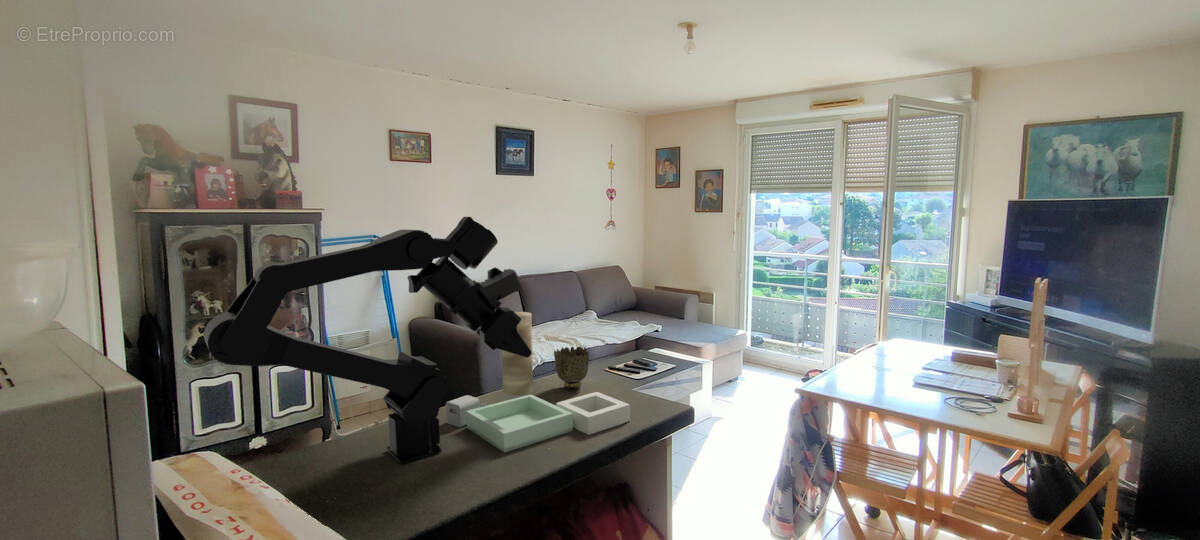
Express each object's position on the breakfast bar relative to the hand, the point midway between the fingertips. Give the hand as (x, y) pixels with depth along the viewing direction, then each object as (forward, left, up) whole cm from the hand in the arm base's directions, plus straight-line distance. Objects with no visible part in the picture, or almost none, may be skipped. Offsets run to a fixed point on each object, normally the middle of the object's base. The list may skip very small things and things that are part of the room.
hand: (525, 351), depth 94 cm
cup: (+19, +12, -14) cm, 26 cm away
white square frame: (+11, -5, -13) cm, 18 cm away
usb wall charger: (-6, +10, -14) cm, 18 cm away
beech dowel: (-1, 0, -7) cm, 7 cm away
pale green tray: (-1, 0, -13) cm, 13 cm away
